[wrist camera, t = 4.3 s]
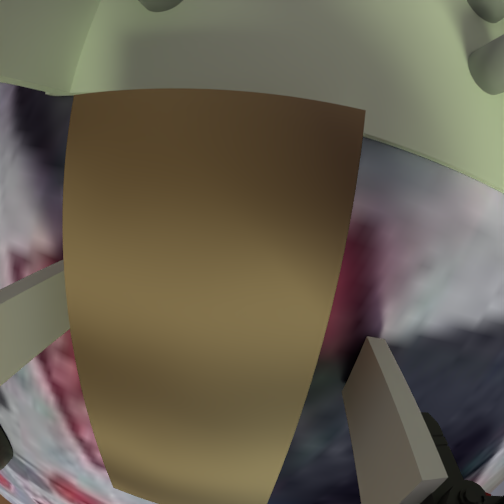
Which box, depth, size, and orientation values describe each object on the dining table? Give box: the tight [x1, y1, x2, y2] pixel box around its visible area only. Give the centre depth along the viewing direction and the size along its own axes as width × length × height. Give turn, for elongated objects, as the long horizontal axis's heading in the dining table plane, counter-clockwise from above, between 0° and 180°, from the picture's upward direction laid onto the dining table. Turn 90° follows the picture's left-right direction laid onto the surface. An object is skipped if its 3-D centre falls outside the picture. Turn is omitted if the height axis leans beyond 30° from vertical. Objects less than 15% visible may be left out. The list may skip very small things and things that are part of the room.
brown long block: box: [63, 88, 366, 504], centre depth 10 cm, size 16×7×4 cm, turn 172°
